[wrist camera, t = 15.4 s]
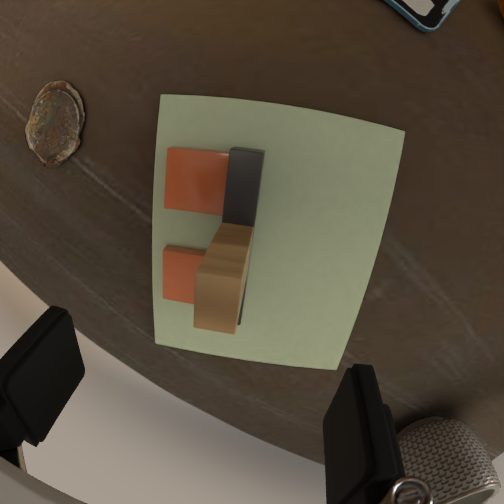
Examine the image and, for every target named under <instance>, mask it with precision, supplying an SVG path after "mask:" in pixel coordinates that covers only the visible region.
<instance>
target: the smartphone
mask: <svg viewBox="0 0 504 504" xmlns="http://www.w3.org/2000/svg"><path fill="white" fill-rule="evenodd" d="M384 1H385V2H387V3H388V4H389V5H390V6H392V7H393V8H394V9H395V10H397V11H398V12H399V13H400V14H401V15H403V16H404V17H405V18H406V19H407V20H409V21H410V22H411V23H412V24H413V25H414V26H415V27H417V28H418V29H419V30H421V31H423V32H433V31H435V30H436V29H438V28H439V27H440V26H441V24H442V23H443V22H444V21H445V19H446V18H447V17H448V16H449V15H450V13H451V12H452V11H453V10H454V8H455V7H456V6H457V5H458V4H459V2H460V1H461V0H384Z"/></svg>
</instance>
